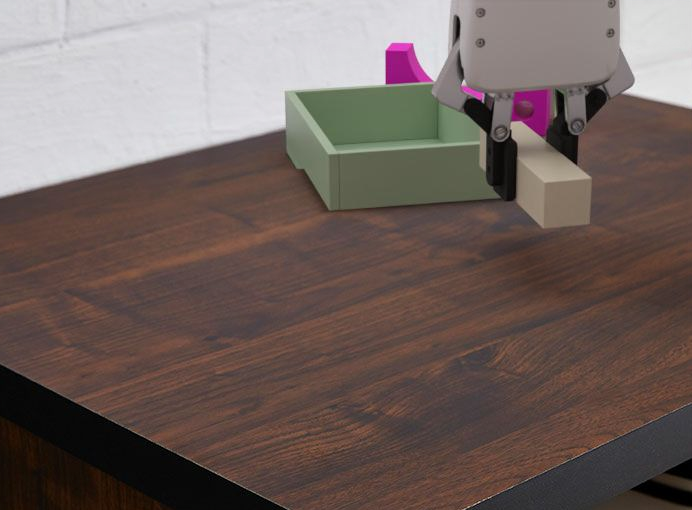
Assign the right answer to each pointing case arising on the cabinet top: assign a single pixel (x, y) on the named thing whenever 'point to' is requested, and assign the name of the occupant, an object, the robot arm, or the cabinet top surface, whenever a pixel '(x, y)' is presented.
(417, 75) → the toy block
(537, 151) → the long cream beam
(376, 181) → the bin
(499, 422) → the cabinet top surface
